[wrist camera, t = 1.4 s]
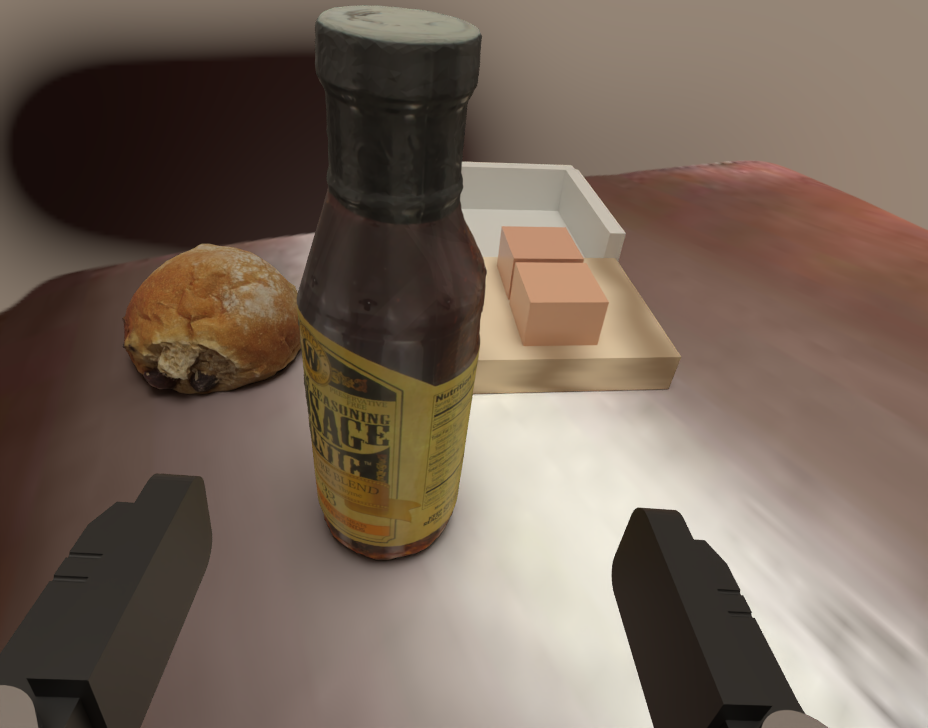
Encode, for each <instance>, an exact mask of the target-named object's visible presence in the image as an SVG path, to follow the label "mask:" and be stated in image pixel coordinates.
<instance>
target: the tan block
mask: <svg viewBox="0 0 928 728" xmlns="http://www.w3.org/2000/svg"><path fill="white" fill-rule="evenodd" d="M509 304H510V307H511V310H512V314H513V317H514V320H515V323H516V326H517V329H518V332H519V335H520V338H521V341H522V344H523V346H573V345H597V344H598V341H599V337H600V333H601V330H602V326H603V323H604V319H605V315H606V312H607V308H608V304H609V301H608V300H607V298H606V296H605V294H604V293H603V291H602V289H601V288H600V286H599V284H598V282H597V281H596V279H595V277H594V275H593V274H592V272H591V270H590V268H589V267H588V265H587V263H535V262H515V268H514V275H513V282H512V289H511V296H510V303H509Z"/></svg>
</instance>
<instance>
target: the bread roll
mask: <svg viewBox="0 0 928 728" xmlns="http://www.w3.org/2000/svg"><path fill="white" fill-rule="evenodd" d="M297 294H298V293H297V290H296V288H295V286H294V285H292V284H291V283H289V282H288V281H287V280H286V279H285V278H284V277H283V276H282V275H281V274H280V273H279V272H278V271H277V270H276V269H275V268H274V267H273V266H271V265H270V264H269V263H268V262H266V261H264V260H263V259H261V258H260V257H258V256H256V255H255V254H253V253H251V252H248V251H244V250H241V249H237V248H233V247H224V246H216V245H212V244H200V245H199V246H197V247H196V248H194V249H192V250H190V251H187V252H184V253H181V254H180V255H177V256H176V257H174V258H172V259H170V260H168V261H166V262H165V263H164V264H163V265H161V266H160V267H159V268H158V269H156V270H155V271H154V272H153V273H152V274H151V275H150V276H149V277H148V278H147V279H146V280H145V281H144V282H143V283H142V285H141V286H140V287H139V289H138V290H137V291H136V292H135V294H134V295H133V297H132V299H131V301H130V303H129V306H128V308H127V311H126V315H125V317H123V318H122V319H123V322H124V328H125V337H124V338H125V340H124V341H125V343H124V344H123V348H125V349H126V351H127V352H128V354H129V356H130V358H131V360H132V362H133V363H134V364H135V366H136V368H137V371H138V372H140V373H142V374H143V376H144V378H145V379H146V381H147V382H148V383H149V384H150V385H151V386H153V387H156V388H158V389H166V388H167V389H173V390H176V391H178V392H179V393H185V394H193V393H201V394H207V393H211V392H217V391H229V390H233V389H236V388H239V387H242V386H244V385H246V384H251V383H253V382H257V381H261V380H265V379H267V378H269V377H271V376H274V375H275V374H276V372H277V371H279V370H281V369H283V368H284V367H286V365H287V364H288V363H290V362H291V361H292V360H294V359H295V356H296V354H297V353H298V351H299V350H300V349H301V343H300V330H299V325H298V312H297V301H296V299H297Z"/></svg>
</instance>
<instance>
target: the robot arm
mask: <svg viewBox="0 0 928 728" xmlns="http://www.w3.org/2000/svg"><path fill="white" fill-rule="evenodd" d="M211 548H212V530H211V523H210V517H209V510H208V504H207V497H206V491H205V485H204V481H203V479H202V477H200V476H187V475H172V474H154V475H153V476H152V477H151V478H150V479H149V480H148V482H147V483H146V485H145V486H144V488H143V490H142V491H141V493H140V495H139V496H138V498H137V499H136V501H135V503H128V502H116V503H115V504H114V505H112V506H111V507H110V508H109V509H107V510H106V511H105V512H103V513H102V514H101V515H100V516H98V517H97V518H96V519H95V520H93V521H92V522H91V523H89V524H88V526H87V527H86V529H85V530H84V531H83V533H82V534H81V536H80V537H79V539H78V540H77V542H76V543H75V545H74V546H73V548H72V549H71V551H70V554H69V557H68V558H65V559H64V561H63V562H62V564H61V565H60V567H59V568H58V570H57V571H56V573H55V574H54V579H53V581H49V583H48V584H47V586H46V587H45V589H44V590H43V592H42V593H41V595H40V596H39V598H38V599H37V601H36V602H35V603H34V605H33V606H32V608H31V609H30V611H29V612H28V614H27V615H26V617H25V618H24V620H23V621H22V623H21V624H20V625H19V627H18V628H17V630H16V631H15V633H14V634H13V636H12V637H11V639H10V640H9V642H8V643H7V645H6V646H5V648H4V649H3V650H2V652H1V653H0V728H140V727H141V725H142V722H143V720H144V717H145V715H146V713H147V710H148V708H149V705H150V703H151V701H152V698H153V696H154V693H155V691H156V689H157V686H158V684H159V681H160V679H161V677H162V674H163V672H164V669H165V667H166V665H167V662H168V660H169V657H170V655H171V653H172V650H173V648H174V645H175V643H176V641H177V638H178V636H179V633H180V631H181V629H182V626H183V624H184V621H185V619H186V617H187V614H188V612H189V609H190V607H191V605H192V602H193V600H194V597H195V595H196V593H197V590H198V588H199V585H200V583H201V581H202V578H203V576H204V573H205V571H206V568H207V565H208V562H209V558H210V554H211ZM612 586H613V591H614V595H615V598H616V602H617V605H618V608H619V612H620V615H621V618H622V622H623V625H624V628H625V632H626V635H627V639H628V642H629V645H630V649H631V652H632V655H633V659H634V662H635V666H636V669H637V672H638V676H639V679H640V682H641V686H642V689H643V693H644V696H645V699H646V703H647V706H648V709H649V713H650V716H651V719H652V723H653V726H654V728H828V727H827V726H825V725H824V724H822V723H821V722H819V721H818V720H816V719H814V718H812V717H810V716H808V715H806V714H805V713H804V711H803V710H802V708H801V706H800V704H799V703H798V701H797V699H796V697H795V695H794V693H793V691H792V689H791V687H790V685H789V684H788V682H787V680H786V678H785V676H784V674H783V672H782V670H781V668H780V666H779V664H778V662H777V660H776V658H775V656H774V654H773V652H772V651H771V649H770V647H769V645H768V643H767V641H766V639H765V637H764V635H763V633H762V631H761V629H760V627H759V625H758V623H757V621H756V619H755V618H752V616H751V613H752V612H751V610H750V608H749V606H748V604H747V602H746V600H745V598H744V596H743V595H741V594H740V588H739V586H738V585H737V583H736V581H735V579H734V577H733V575H732V573H731V571H730V569H729V567H728V565H727V563H726V562H725V561H724V560H723V559H722V558H721V557H720V556H719V555H718V554H717V553H716V552H715V551H714V550H713V549H712V548H711V546H710V545H709V544H708V543H707V542H706V541H705V540H694V539H693V537H692V535H691V533H690V531H689V529H688V527H687V525H686V522H685V520H684V518H683V517H682V515H681V514H680V513H679V512H678V511H676V510H665V509H650V508H636V509H635V510H634V511H633V513H632V515H631V517H630V520H629V522H628V525H627V527H626V530H625V532H624V535H623V537H622V540H621V542H620V544H619V547H618V549H617V552H616V554H615V557H614V560H613V564H612Z"/></svg>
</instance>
